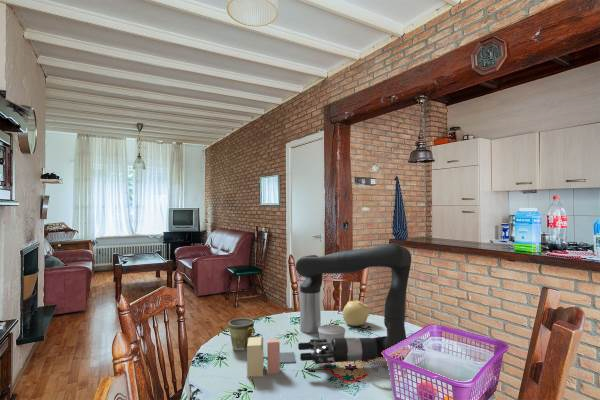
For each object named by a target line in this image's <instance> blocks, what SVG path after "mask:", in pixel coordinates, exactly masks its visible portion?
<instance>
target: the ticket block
mask: <svg viewBox="0 0 600 400" xmlns="http://www.w3.org/2000/svg"><path fill="white" fill-rule="evenodd" d="M246 352H247V353H246V372H247V373H246V377H247V378H258V376H260V377H261V376H262V377H263V376H264V377H266V376H267V375H266V374H267V371H266V369H267V367H266V366H264V337H263V336H261V337H260V336H258V337H257V336H255V337H254V336H252V337H251V338H248V344H247V350H246ZM250 376H251V377H250ZM252 376H253V377H252ZM255 376H257V377H255ZM260 377H259V378H260Z"/></svg>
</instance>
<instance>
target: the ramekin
mask: <svg viewBox="0 0 600 400" xmlns="http://www.w3.org/2000/svg"><path fill="white" fill-rule="evenodd" d="M317 333H318V335H319V336H318V337H319V339H326V340H327V343H331V342H332V339H333V338H345V334H346V328H345V327H343V326H342V325H337V324H323V325H321V327H319V328H318V332H317Z"/></svg>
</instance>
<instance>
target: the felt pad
mask: <svg viewBox="0 0 600 400" xmlns="http://www.w3.org/2000/svg"><path fill="white" fill-rule="evenodd" d="M280 364H296V357H295V352H294V351H291V352H289V351H287V352H280Z"/></svg>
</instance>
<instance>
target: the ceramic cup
mask: <svg viewBox="0 0 600 400" xmlns="http://www.w3.org/2000/svg"><path fill="white" fill-rule="evenodd" d="M254 327H255V319H252V318H249V317H238V318H233V319H231V320H229V321H228V329H229V330H228V331H229V334H230V340H231V341H230V342H231V346H232V349H233V350H234V349H235V351H237V350H244V351H247V350H246V349H247V344H248V338H252V337H254V335H255V333H256V330H255V328H254Z"/></svg>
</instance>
